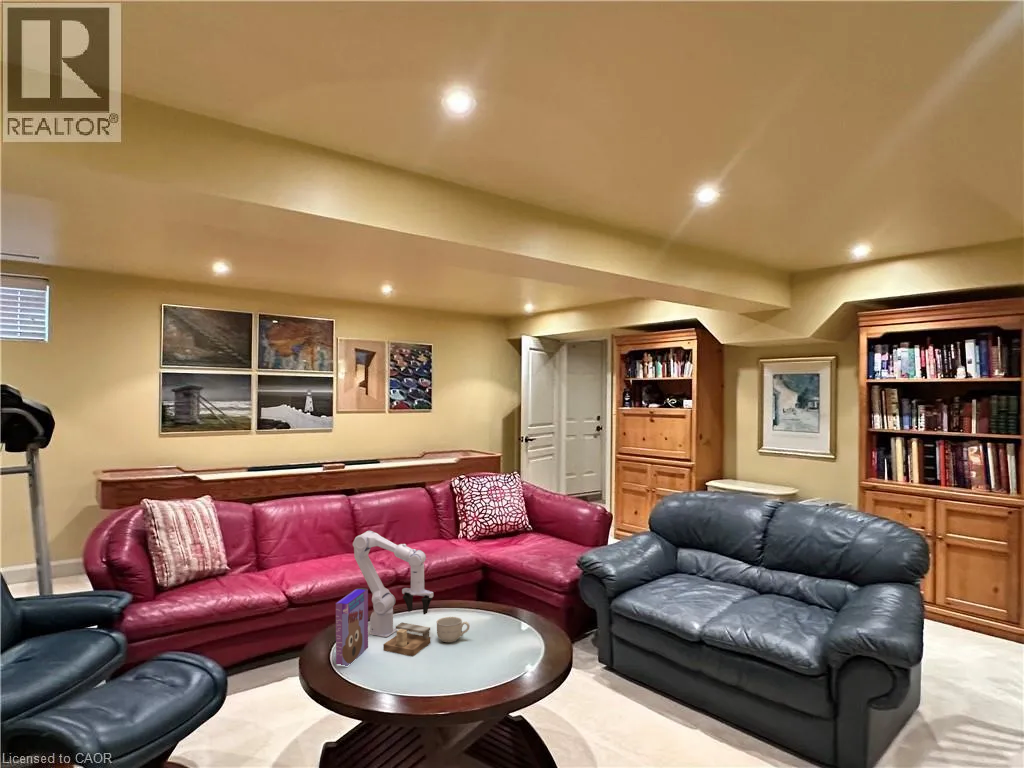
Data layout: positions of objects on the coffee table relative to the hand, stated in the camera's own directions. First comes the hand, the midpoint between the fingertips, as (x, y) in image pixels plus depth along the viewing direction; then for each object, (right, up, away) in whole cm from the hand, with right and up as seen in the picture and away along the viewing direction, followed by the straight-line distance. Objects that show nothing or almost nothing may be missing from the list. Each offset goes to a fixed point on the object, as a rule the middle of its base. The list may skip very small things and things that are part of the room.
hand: (417, 612), depth 246 cm
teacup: (+16, -10, -5) cm, 19 cm away
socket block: (-2, -10, -11) cm, 15 cm away
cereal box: (-23, -10, -19) cm, 31 cm away
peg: (-4, -10, -15) cm, 18 cm away
